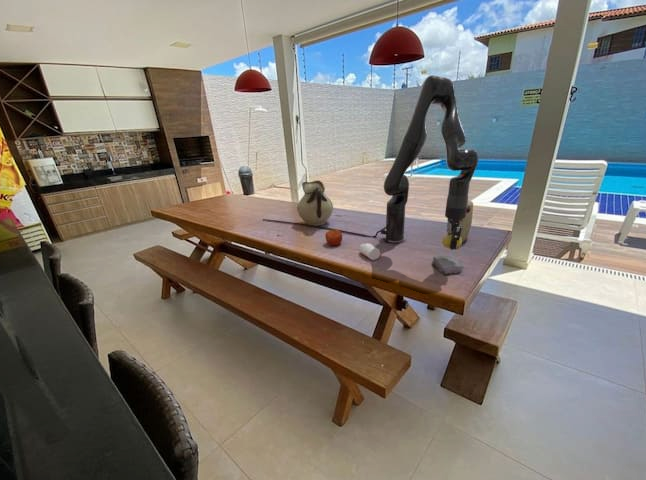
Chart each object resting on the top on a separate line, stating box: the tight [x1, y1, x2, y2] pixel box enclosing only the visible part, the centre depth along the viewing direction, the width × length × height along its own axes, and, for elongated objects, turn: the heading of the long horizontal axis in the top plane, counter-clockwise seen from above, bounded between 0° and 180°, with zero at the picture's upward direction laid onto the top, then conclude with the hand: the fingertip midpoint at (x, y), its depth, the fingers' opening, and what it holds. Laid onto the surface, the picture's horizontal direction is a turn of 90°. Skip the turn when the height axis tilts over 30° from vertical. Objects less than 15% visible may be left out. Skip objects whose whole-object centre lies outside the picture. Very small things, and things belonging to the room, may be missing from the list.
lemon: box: [441, 234, 463, 249], centre depth 124 cm, size 8×5×5 cm
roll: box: [359, 243, 381, 261], centre depth 144 cm, size 6×12×6 cm, turn 22°
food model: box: [460, 200, 474, 243], centre depth 151 cm, size 10×7×20 cm
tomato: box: [324, 228, 343, 246], centre depth 159 cm, size 9×9×8 cm
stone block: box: [432, 254, 464, 275], centre depth 128 cm, size 12×5×10 cm
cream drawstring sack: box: [296, 180, 334, 227], centre depth 188 cm, size 22×24×25 cm
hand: (451, 246), depth 125 cm, fingers closed on lemon, 5 cm apart
